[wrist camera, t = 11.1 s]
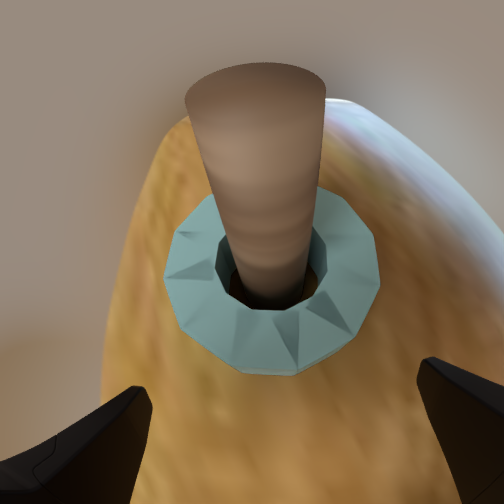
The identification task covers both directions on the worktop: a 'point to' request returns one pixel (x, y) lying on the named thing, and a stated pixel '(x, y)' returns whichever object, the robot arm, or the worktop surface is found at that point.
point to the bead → (270, 321)
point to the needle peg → (263, 169)
